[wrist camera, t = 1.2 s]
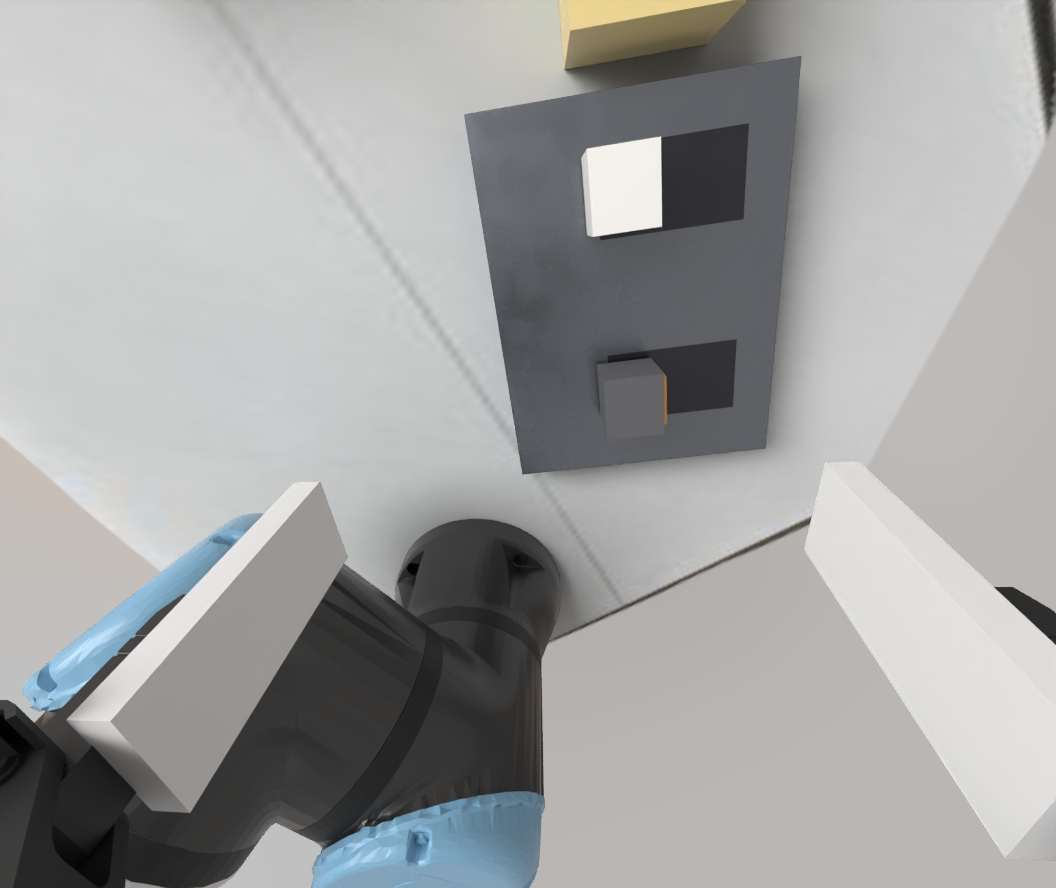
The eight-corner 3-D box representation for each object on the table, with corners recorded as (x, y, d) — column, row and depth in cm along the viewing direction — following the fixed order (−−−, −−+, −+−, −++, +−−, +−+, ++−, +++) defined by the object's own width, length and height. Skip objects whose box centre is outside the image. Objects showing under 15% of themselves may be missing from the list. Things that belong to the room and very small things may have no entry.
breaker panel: (748, 431, 36) (765, 448, 34) (524, 456, 38) (522, 474, 35) (775, 73, 27) (801, 55, 24) (471, 125, 28) (464, 114, 25)
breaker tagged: (656, 412, 32) (669, 433, 29) (600, 419, 33) (607, 440, 29) (655, 357, 31) (668, 372, 27) (596, 364, 31) (603, 381, 28)
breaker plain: (647, 226, 27) (662, 226, 24) (586, 235, 28) (592, 236, 24) (645, 147, 26) (660, 136, 22) (581, 158, 26) (587, 148, 23)
